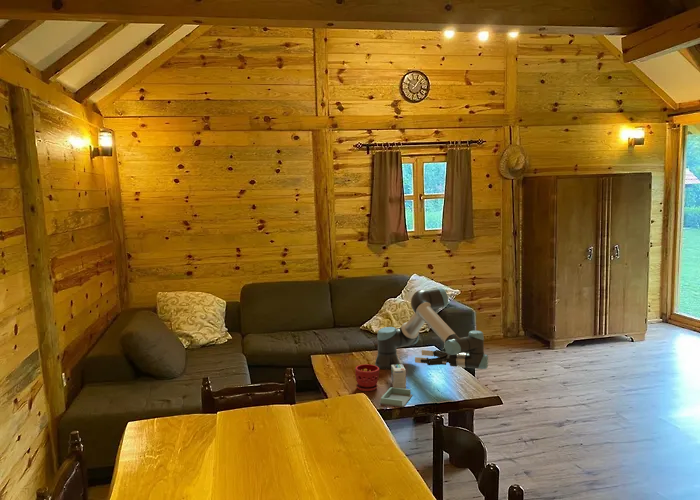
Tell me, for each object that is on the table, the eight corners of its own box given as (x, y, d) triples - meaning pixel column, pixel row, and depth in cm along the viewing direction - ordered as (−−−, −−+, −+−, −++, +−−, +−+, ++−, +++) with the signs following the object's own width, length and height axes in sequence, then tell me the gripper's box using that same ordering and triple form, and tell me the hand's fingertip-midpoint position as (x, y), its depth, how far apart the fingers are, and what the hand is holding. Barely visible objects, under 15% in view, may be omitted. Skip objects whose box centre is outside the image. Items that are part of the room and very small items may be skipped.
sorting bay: (380, 404, 261) (380, 398, 261) (390, 392, 276) (390, 387, 275) (403, 407, 256) (403, 401, 256) (412, 395, 271) (412, 389, 271)
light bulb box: (391, 383, 291) (390, 364, 289) (402, 382, 291) (402, 363, 290) (394, 390, 280) (393, 370, 279) (406, 389, 280) (406, 370, 279)
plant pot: (363, 394, 274) (362, 373, 273) (351, 387, 286) (350, 366, 285) (384, 389, 280) (383, 368, 279) (371, 382, 292) (371, 362, 291)
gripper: (453, 374, 260) (412, 370, 268) (462, 359, 283) (424, 356, 291) (452, 359, 259) (412, 355, 267) (462, 346, 282) (424, 343, 290)
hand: (418, 356), depth 279 cm, fingers open, 13 cm apart
